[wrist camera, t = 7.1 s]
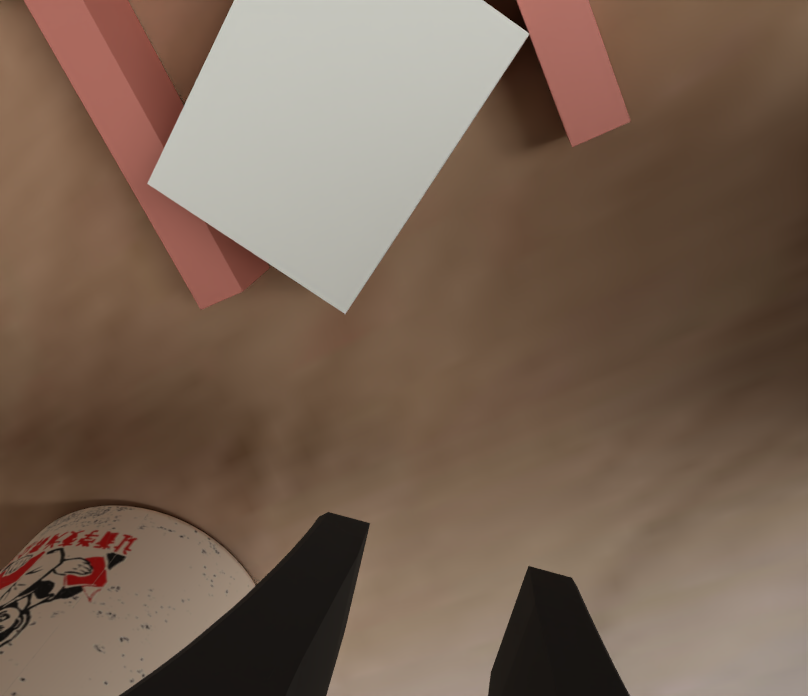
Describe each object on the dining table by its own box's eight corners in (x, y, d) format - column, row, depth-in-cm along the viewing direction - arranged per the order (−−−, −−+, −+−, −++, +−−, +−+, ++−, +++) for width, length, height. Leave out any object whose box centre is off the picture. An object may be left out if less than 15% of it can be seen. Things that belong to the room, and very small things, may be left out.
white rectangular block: (528, 36, 16) (529, 33, 12) (384, 254, 19) (345, 314, 14) (356, -87, 16) (297, -133, 12) (232, 152, 18) (147, 183, 14)
